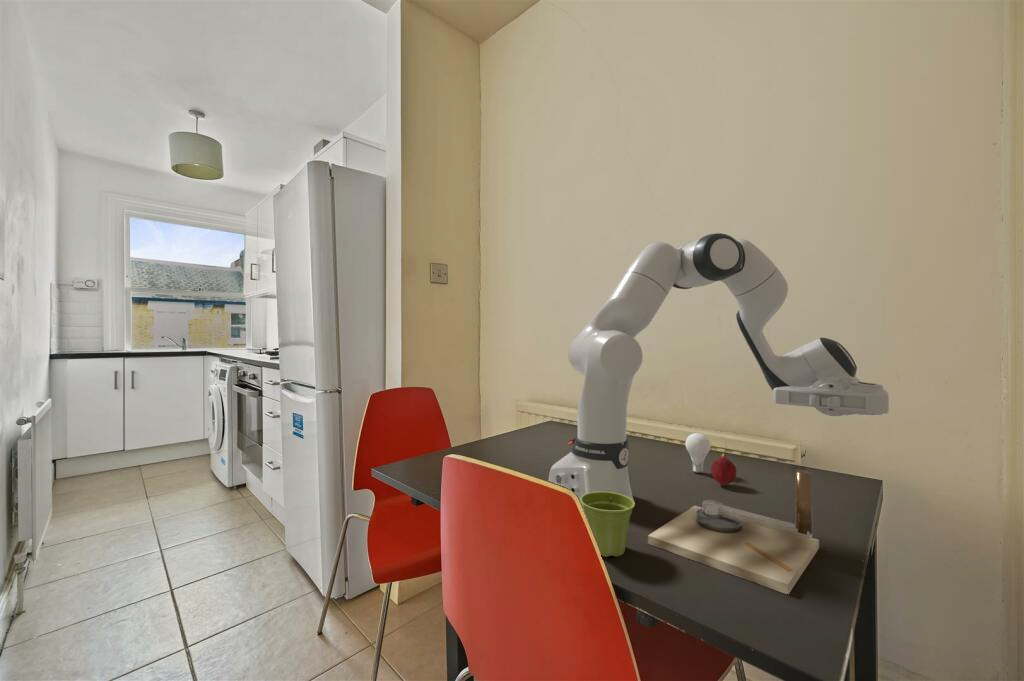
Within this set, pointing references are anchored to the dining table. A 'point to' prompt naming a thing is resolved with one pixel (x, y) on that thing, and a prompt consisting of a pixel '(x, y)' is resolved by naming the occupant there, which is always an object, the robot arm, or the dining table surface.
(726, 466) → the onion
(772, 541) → the stand
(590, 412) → the robot arm
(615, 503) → the plant pot
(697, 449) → the lightbulb
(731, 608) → the dining table surface
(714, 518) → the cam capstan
